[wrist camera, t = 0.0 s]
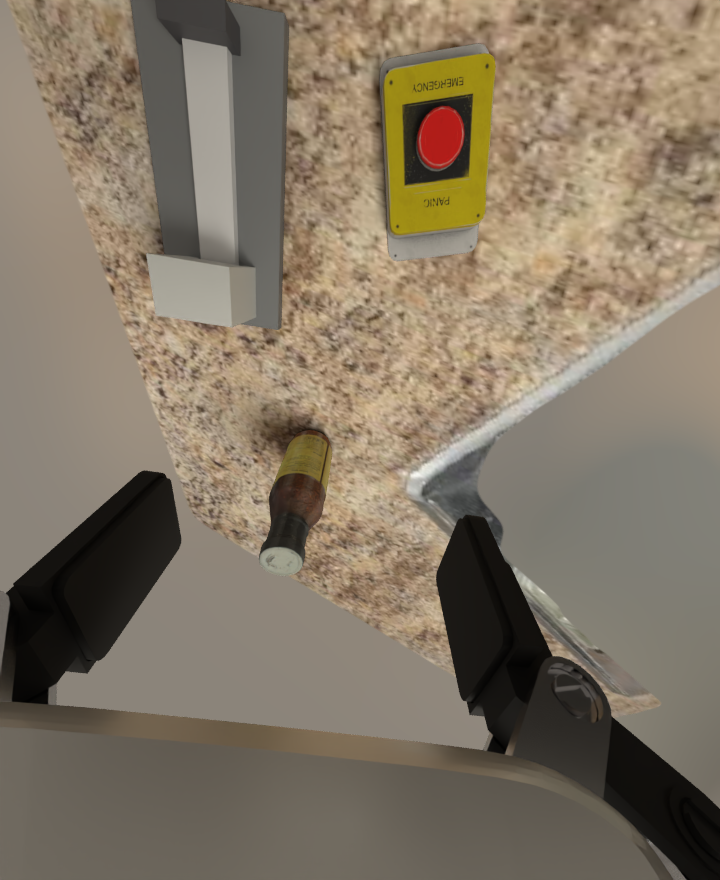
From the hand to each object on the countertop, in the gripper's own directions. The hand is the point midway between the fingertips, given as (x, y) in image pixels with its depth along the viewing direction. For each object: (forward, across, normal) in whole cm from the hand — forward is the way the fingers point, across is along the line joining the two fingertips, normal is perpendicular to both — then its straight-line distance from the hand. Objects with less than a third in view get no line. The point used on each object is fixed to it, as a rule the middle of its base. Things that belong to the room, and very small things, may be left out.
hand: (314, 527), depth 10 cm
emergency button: (+32, -5, -17) cm, 37 cm away
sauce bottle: (+31, +4, +16) cm, 35 cm away
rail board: (+31, +15, -12) cm, 37 cm away
